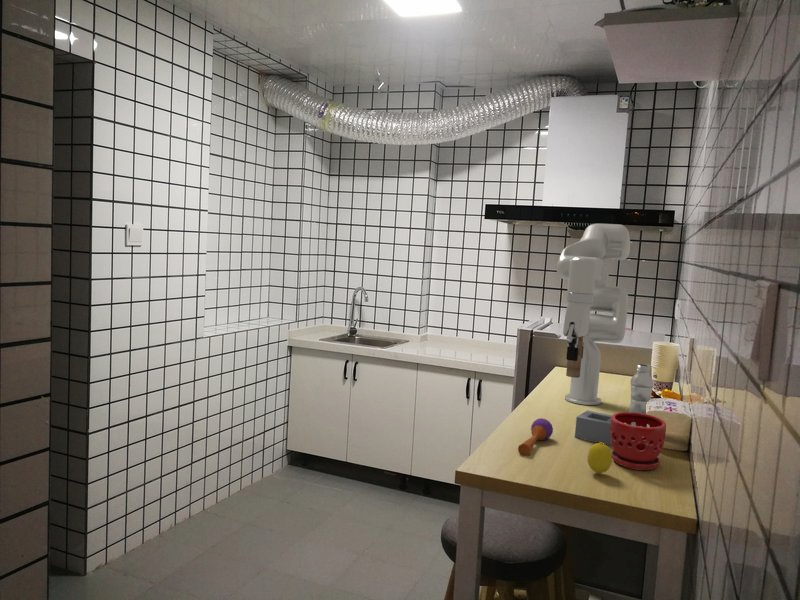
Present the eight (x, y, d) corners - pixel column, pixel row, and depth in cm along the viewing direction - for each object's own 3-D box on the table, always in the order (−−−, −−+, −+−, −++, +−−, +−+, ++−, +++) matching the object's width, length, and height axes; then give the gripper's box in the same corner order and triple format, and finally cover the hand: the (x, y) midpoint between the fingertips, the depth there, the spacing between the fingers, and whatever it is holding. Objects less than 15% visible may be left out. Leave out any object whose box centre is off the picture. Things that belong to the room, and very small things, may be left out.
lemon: (613, 475, 146) (617, 442, 146) (604, 480, 142) (607, 447, 142) (592, 468, 150) (595, 436, 149) (582, 473, 146) (585, 441, 145)
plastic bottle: (651, 433, 183) (658, 368, 181) (627, 430, 184) (634, 366, 183) (647, 427, 189) (653, 364, 188) (624, 424, 191) (630, 362, 189)
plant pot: (603, 452, 163) (607, 409, 161) (654, 458, 160) (659, 414, 159) (611, 470, 150) (616, 422, 149) (667, 477, 148) (672, 428, 146)
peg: (568, 373, 186) (572, 328, 185) (581, 376, 184) (585, 330, 183) (564, 375, 183) (568, 329, 182) (577, 378, 181) (581, 331, 179)
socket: (585, 429, 183) (587, 410, 182) (619, 437, 177) (621, 417, 177) (574, 437, 175) (576, 416, 174) (610, 445, 169) (612, 424, 169)
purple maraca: (511, 438, 158) (533, 415, 175) (514, 460, 158) (535, 435, 176) (534, 439, 155) (553, 415, 172) (537, 461, 155) (556, 436, 173)
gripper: (576, 296, 190) (571, 354, 192) (557, 298, 176) (552, 360, 178) (600, 298, 186) (595, 357, 188) (583, 301, 172) (577, 365, 174)
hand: (574, 358), depth 183 cm, fingers closed on peg, 4 cm apart
